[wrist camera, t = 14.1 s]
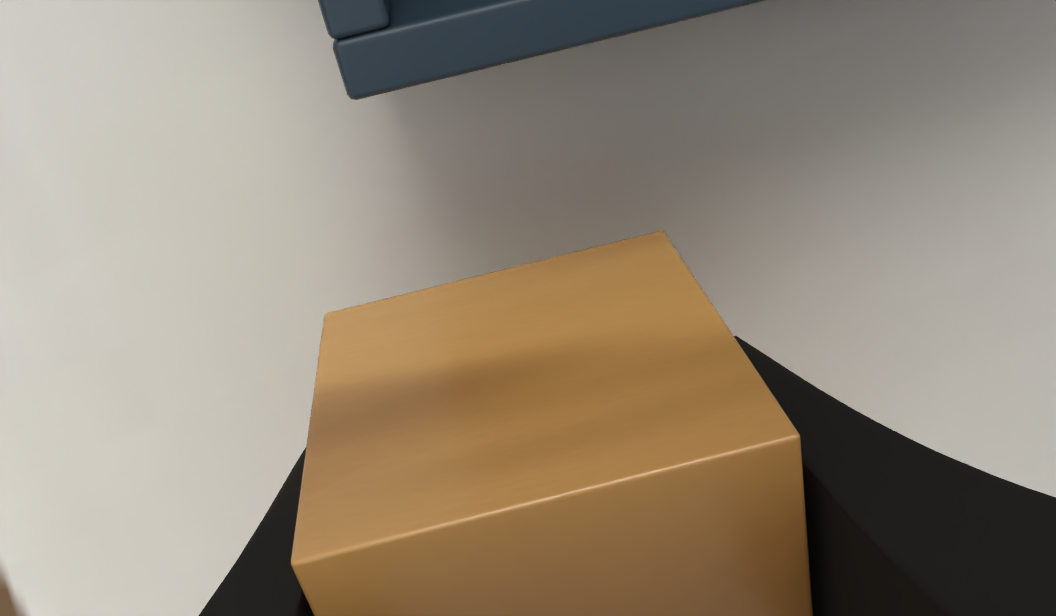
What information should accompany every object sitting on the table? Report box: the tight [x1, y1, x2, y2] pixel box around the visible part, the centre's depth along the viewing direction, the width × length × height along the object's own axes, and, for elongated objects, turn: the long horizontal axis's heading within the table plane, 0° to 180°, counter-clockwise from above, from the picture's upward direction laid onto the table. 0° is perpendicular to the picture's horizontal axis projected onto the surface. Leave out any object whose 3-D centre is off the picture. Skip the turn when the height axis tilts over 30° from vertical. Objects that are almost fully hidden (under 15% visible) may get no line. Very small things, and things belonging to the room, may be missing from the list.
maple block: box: [291, 231, 813, 616], centre depth 11 cm, size 4×4×4 cm
